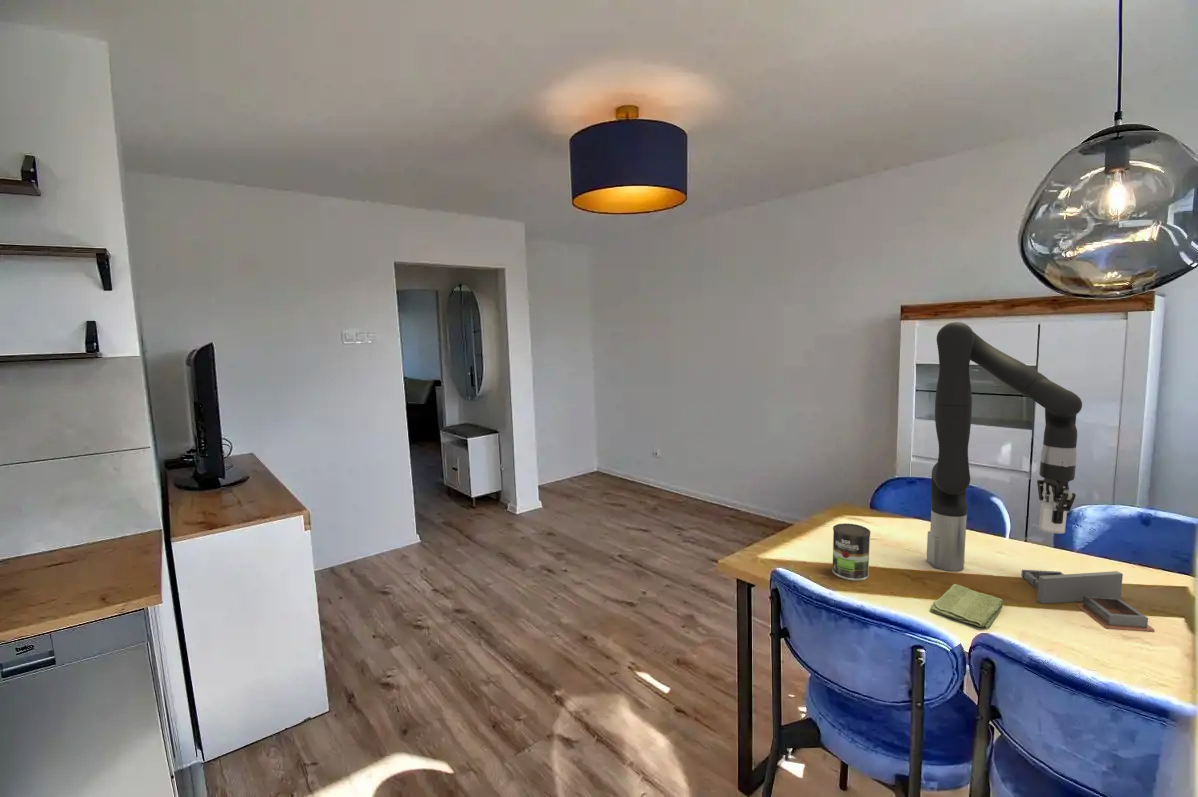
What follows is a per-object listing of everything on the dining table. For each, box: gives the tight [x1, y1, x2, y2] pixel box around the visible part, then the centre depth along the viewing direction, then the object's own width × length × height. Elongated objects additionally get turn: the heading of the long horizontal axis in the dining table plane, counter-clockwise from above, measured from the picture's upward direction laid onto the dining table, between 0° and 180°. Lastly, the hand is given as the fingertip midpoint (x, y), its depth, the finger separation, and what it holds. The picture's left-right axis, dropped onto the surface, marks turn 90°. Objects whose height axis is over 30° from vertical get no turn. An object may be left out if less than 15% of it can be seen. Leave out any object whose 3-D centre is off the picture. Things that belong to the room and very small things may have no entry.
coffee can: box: [831, 523, 871, 582], centre depth 164 cm, size 10×10×14 cm
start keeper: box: [1021, 569, 1064, 590], centre depth 154 cm, size 10×8×2 cm
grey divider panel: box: [1037, 570, 1124, 604], centre depth 144 cm, size 22×2×7 cm, turn 93°
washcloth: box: [929, 583, 1004, 630], centre depth 142 cm, size 13×18×3 cm
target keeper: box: [1076, 596, 1155, 632], centre depth 135 cm, size 10×11×3 cm
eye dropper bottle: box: [1038, 494, 1068, 535], centre depth 151 cm, size 4×6×12 cm
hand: (1052, 520), depth 152 cm, fingers closed on eye dropper bottle, 3 cm apart
